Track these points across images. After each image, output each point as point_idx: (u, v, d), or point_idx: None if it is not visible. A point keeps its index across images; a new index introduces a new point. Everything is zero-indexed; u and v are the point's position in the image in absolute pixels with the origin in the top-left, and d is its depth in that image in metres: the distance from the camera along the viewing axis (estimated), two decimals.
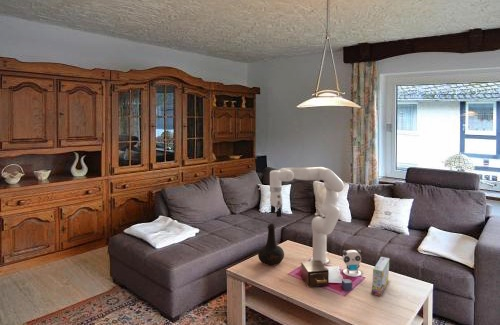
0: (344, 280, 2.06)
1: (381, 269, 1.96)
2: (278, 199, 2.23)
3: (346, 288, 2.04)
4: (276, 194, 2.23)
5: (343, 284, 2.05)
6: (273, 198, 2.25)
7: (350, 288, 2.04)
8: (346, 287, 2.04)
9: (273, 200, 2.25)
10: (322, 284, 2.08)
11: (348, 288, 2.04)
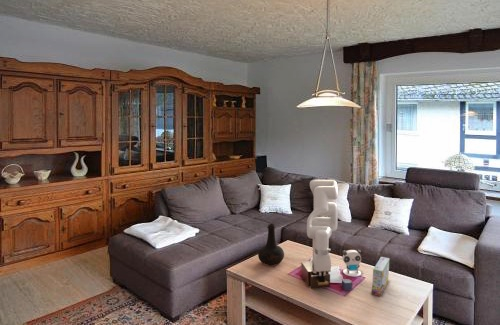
0: (344, 280, 2.06)
1: (381, 269, 1.96)
2: None
3: (346, 288, 2.04)
4: (329, 255, 2.00)
5: (343, 284, 2.05)
6: (326, 262, 1.99)
7: (350, 288, 2.04)
8: (346, 287, 2.04)
9: (326, 264, 1.99)
10: (323, 286, 2.05)
11: (348, 288, 2.04)
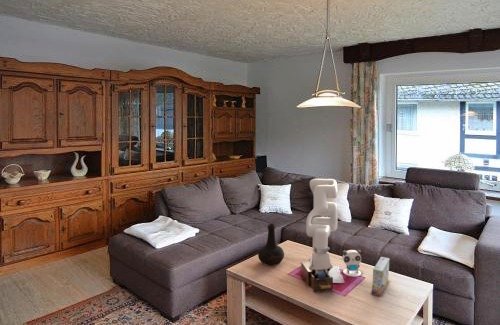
0: (318, 272, 2.04)
1: (381, 269, 1.96)
2: None
3: None
4: (328, 254, 2.02)
5: None
6: (325, 260, 2.01)
7: None
8: None
9: (325, 262, 2.01)
10: (326, 289, 2.01)
11: None
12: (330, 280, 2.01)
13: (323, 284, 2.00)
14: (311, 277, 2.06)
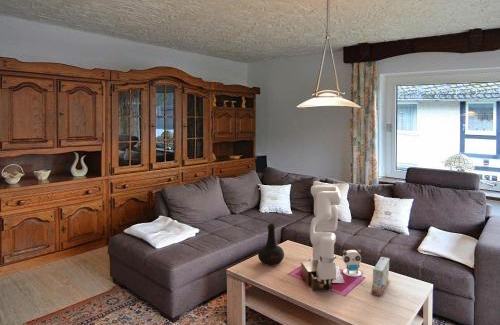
0: None
1: (381, 269, 1.96)
2: None
3: None
4: None
5: None
6: (331, 269, 1.92)
7: None
8: None
9: (331, 272, 1.92)
10: None
11: None
12: None
13: (322, 283, 2.02)
14: (310, 276, 2.07)
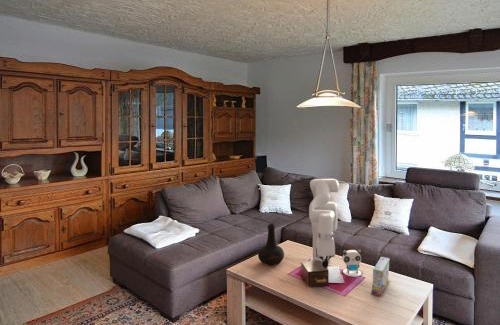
0: None
1: (381, 269, 1.96)
2: None
3: None
4: (333, 240, 1.93)
5: None
6: (330, 246, 1.92)
7: None
8: None
9: (329, 248, 1.92)
10: (322, 284, 2.08)
11: None
12: (326, 274, 2.08)
13: (319, 278, 2.07)
14: None
